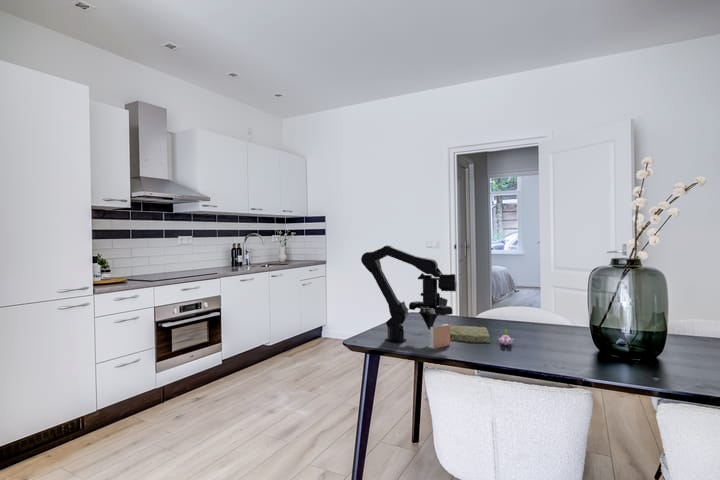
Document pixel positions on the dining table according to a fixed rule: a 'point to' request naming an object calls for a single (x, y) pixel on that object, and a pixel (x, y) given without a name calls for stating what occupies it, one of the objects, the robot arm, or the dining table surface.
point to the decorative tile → (469, 334)
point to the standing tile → (440, 336)
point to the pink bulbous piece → (505, 339)
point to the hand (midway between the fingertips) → (430, 329)
